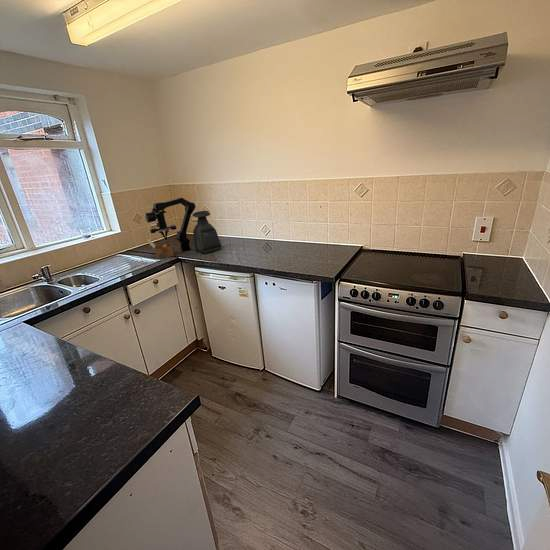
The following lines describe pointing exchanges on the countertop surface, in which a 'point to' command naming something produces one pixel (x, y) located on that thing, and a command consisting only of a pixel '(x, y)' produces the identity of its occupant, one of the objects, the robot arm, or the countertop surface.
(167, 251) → the carton
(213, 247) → the bottle
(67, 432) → the countertop surface
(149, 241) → the flap
